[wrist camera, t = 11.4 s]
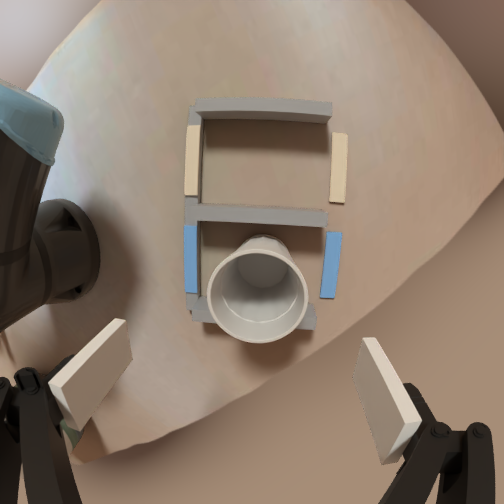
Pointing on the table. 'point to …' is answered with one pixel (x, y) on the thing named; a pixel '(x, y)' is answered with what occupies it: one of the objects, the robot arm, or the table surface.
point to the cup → (258, 291)
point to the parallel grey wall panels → (255, 213)
